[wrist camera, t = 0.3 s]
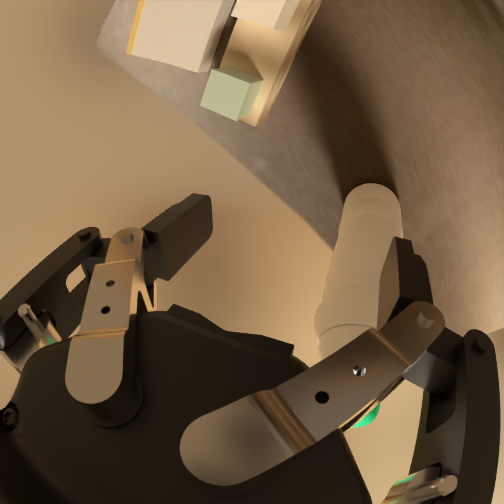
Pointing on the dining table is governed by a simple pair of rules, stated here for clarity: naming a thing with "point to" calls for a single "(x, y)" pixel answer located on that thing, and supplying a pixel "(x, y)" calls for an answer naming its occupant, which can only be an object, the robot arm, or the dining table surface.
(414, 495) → the robot arm
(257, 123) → the pallet
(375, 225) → the water bottle
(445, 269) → the dining table surface
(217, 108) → the block
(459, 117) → the dining table surface
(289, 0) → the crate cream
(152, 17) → the dock
